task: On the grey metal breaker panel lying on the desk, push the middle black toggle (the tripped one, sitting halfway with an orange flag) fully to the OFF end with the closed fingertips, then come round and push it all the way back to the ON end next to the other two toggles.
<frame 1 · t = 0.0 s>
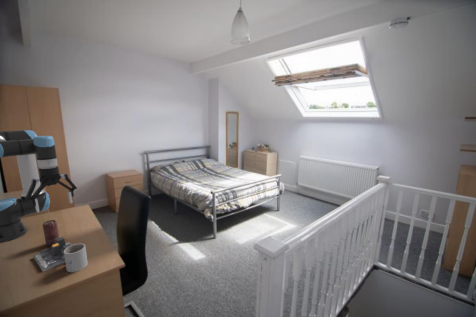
hand: (55, 206, 113), 28 cm above the table, fingers open, 13 cm apart
mug: (76, 264, 111), on the table
breaker 2: (67, 250, 116), point 4 cm above the table, slide at 7.0 cm
breaker 1: (61, 242, 122), point 4 cm above the table, slide at 7.0 cm
can: (53, 244, 128), on the table
breaker tripped: (56, 249, 116), point 4 cm above the table, slide at 3.5 cm
panel: (57, 256, 117), on the table
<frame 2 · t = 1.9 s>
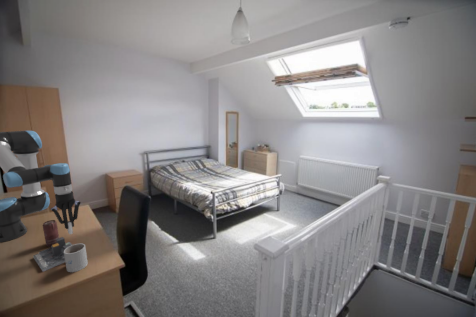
hand: (70, 233, 120), 11 cm above the table, fingers closed
nothing on the table moved.
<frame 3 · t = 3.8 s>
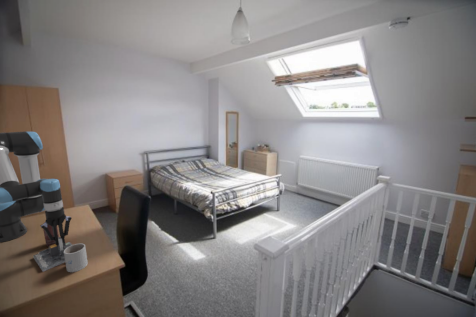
hand: (61, 249, 118), 3 cm above the table, fingers closed
breaker tripped: (53, 250, 115), point 4 cm above the table, slide at 2.5 cm, touching gripper
everything else where it was.
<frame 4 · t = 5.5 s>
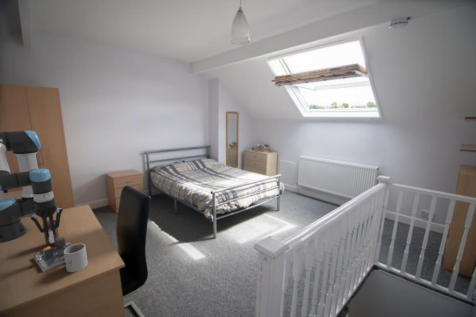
hand: (51, 241, 114), 9 cm above the table, fingers closed
breaker tripped: (47, 252, 113), point 4 cm above the table, slide at 0.0 cm
everything else where it was.
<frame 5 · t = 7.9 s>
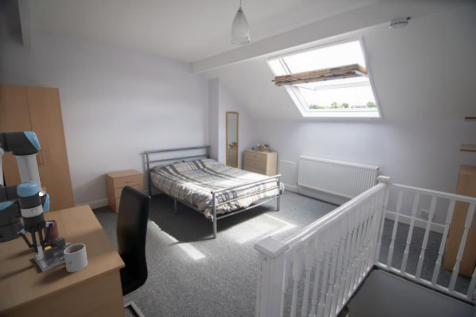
hand: (41, 257, 111), 3 cm above the table, fingers closed
breaker tripped: (48, 252, 114), point 4 cm above the table, slide at 0.1 cm, touching gripper
everything else where it was.
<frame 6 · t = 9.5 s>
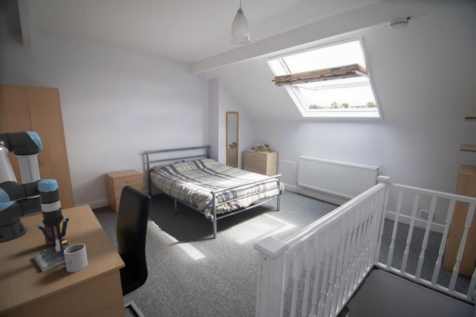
hand: (58, 250, 117), 3 cm above the table, fingers closed
breaker tripped: (64, 246, 119), point 4 cm above the table, slide at 7.2 cm, touching gripper
everything else where it was.
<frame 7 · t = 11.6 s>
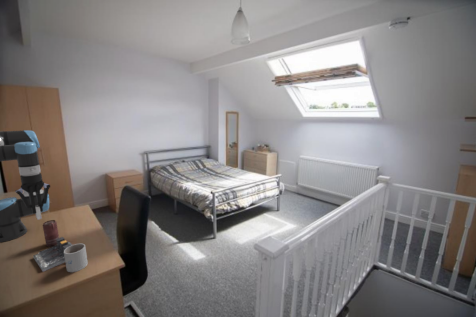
hand: (39, 218, 111), 23 cm above the table, fingers closed
breaker tripped: (64, 246, 119), point 4 cm above the table, slide at 7.0 cm
everything else where it was.
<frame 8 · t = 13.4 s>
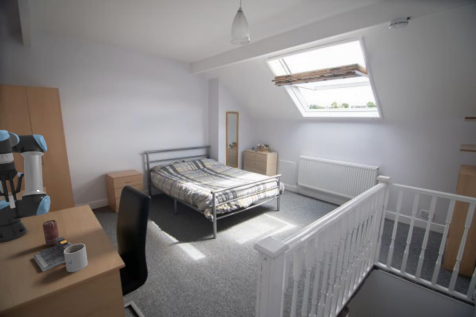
hand: (12, 207, 111), 28 cm above the table, fingers closed
nothing on the table moved.
at the end: breaker tripped slide at 7.0 cm; breaker 1 slide at 7.0 cm; breaker 2 slide at 7.0 cm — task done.
